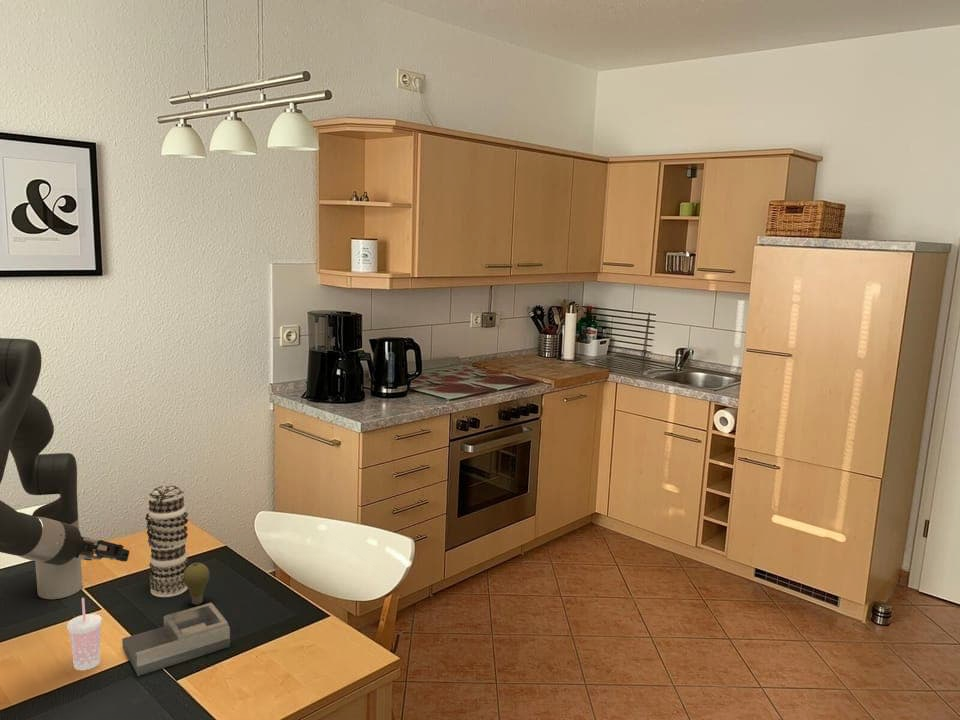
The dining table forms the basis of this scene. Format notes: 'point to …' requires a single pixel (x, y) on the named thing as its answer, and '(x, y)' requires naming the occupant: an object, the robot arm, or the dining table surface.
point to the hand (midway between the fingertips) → (109, 555)
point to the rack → (178, 639)
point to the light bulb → (196, 581)
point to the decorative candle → (167, 541)
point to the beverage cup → (85, 639)
